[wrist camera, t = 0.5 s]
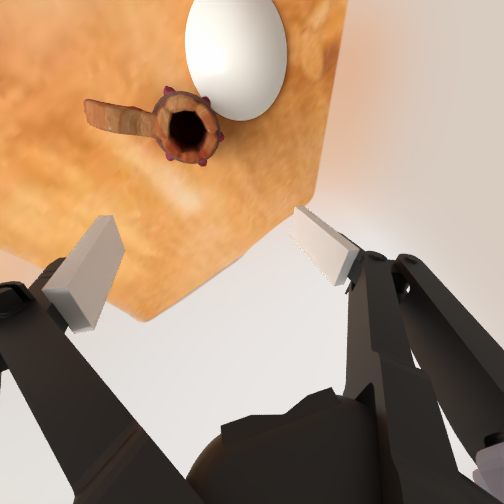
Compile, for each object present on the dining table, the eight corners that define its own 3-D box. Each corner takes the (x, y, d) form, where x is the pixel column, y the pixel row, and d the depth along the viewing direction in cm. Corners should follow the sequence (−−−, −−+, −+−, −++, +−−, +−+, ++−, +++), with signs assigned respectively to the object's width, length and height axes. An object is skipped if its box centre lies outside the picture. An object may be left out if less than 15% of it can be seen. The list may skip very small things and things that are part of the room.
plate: (167, -16, 24) (167, -22, 23) (281, -24, 26) (285, -29, 25) (202, 127, 33) (203, 128, 32) (285, 112, 35) (288, 112, 34)
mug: (216, 103, 32) (237, 97, 20) (212, 157, 36) (227, 179, 24) (108, 75, 27) (52, 44, 15) (118, 142, 31) (79, 159, 19)
